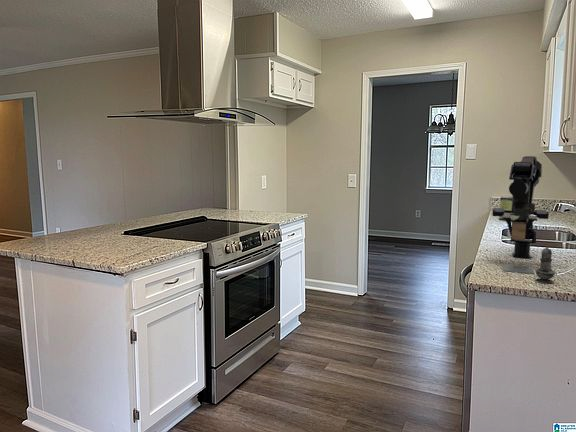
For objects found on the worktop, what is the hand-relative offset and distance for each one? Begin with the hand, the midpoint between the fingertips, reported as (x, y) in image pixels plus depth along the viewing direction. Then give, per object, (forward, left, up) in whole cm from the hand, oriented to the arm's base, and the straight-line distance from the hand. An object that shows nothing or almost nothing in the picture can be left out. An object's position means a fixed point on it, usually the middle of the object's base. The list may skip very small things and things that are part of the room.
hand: (517, 235), depth 170 cm
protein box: (-137, +7, -11) cm, 137 cm away
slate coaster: (+10, 0, -11) cm, 15 cm away
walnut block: (0, 0, -1) cm, 1 cm away
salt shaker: (+24, +7, -11) cm, 28 cm away
